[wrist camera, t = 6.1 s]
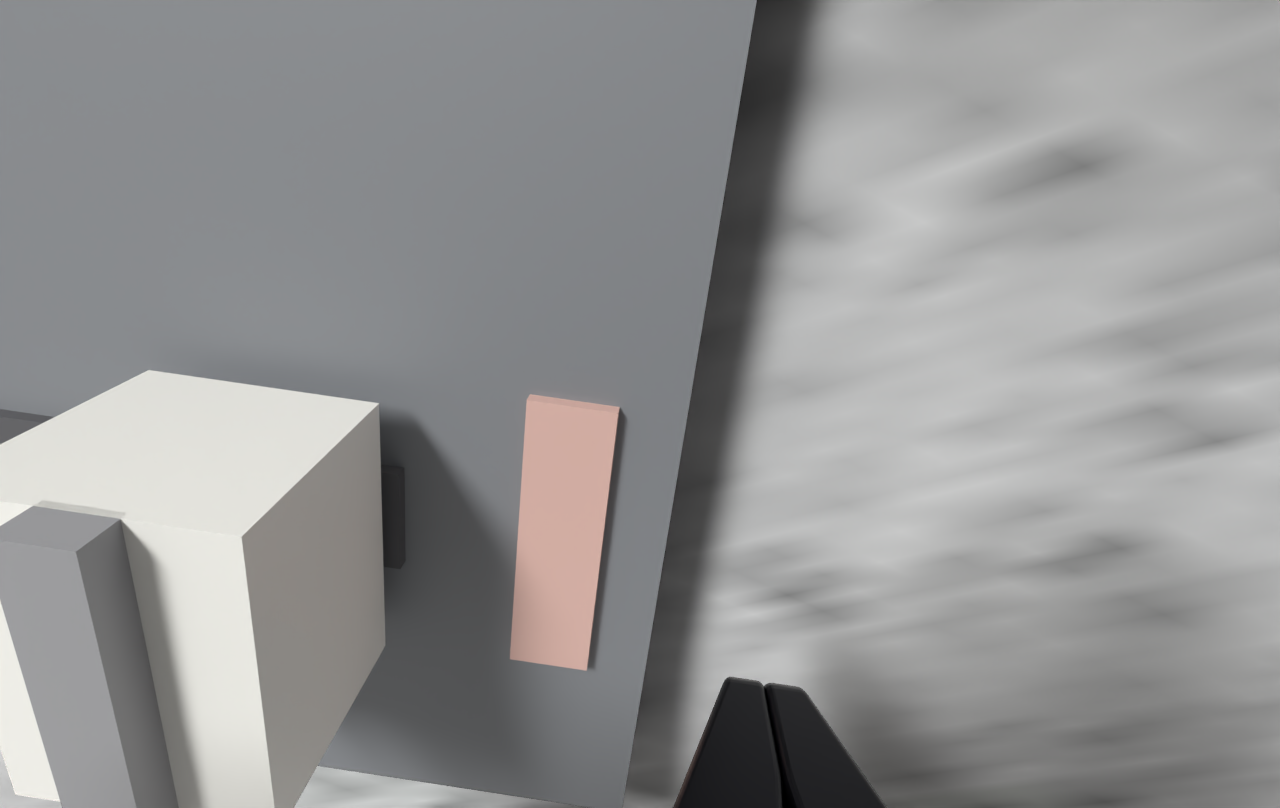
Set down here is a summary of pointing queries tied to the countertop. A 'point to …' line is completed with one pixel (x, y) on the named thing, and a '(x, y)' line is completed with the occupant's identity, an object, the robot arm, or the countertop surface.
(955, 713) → the countertop surface
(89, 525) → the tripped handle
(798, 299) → the countertop surface
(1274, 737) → the countertop surface
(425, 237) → the panel
